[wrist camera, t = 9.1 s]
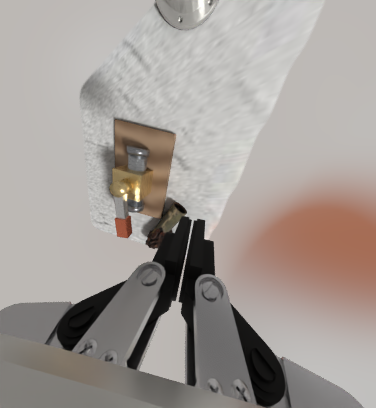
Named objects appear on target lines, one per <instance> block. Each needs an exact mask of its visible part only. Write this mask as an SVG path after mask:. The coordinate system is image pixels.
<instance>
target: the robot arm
mask: <svg viewBox="0 0 376 408" xmlns="http://www.w3.org/2000/svg"><path fill="white" fill-rule="evenodd" d="M218 1H219V0H156V3H157V6H158V8H159V10H160V12H161V14H162V16H163V17H164V18H165V20H166V21H167V22H168V23H169V24H170V25H172V26H174V27H175V28H178V29H181V30H189V29H193V28H196V27H197V26H199V25H201V24H202V23H203V22H204V21H205V20H207V18H208V17H209V16H210V15H211V13H212V12H213V10H214V9H215V7H216V5H217V3H218ZM209 5H211V6H209ZM180 22H181V23H180ZM191 222H192V220H190V219H189V217H185V216H181V219H180V221H179V224H178V227H177V229H176V232H175V233H171V232H166V234H165V236H164V238H163V240H162V242H161V244H160V246H159V248H158V250H157V252H156V255H155V257H154V259H153V261H152V262H146V263H143V264H141V265H140V266H139V267H138V268H137V269H136V270H135V271H134V272H133V273H132V275H131V276H130V277H129V279H128V280H126V281H124V282H122V283H119V284H117V285H115V286H113V287H111V288H109V289H106V290H104V291H102V292H100V293H98V294H95V295H93V296H91V297H89V298H87V299H85V300H82V301H81V302H79V303H77V304H71V302H50V303H49V302H48V303H47V302H44V303H19V304H14V305H11V306H9V307H6V308H4V309H2V310H1V311H0V408H363V407H362V405H361V404H360V403H359V402H358V401H357V400H356V399H355V398H354V397H353V396H352V395H351V394H349V393H348V392H346V391H345V390H343V389H342V388H340V387H338V386H337V385H335V384H333V383H331V382H329V381H327V380H326V379H324V378H322V377H320V376H318V375H316V374H314V373H313V372H311V371H309V370H307V369H305V368H303V367H301V366H299V365H297V364H296V363H294V362H292V361H290V360H288V359H286V358H285V357H282V358H279V357H277V356H275V354H274V353H273V352H272V350H271V349H270V348H269V347H268V346H267V344H266V343H265V342H264V341H263V340H262V339H261V338H260V336H259V335H258V334H257V333H256V332H255V331H254V330H253V328H252V327H251V326H250V325H249V324H248V323H247V322H246V320H245V319H244V318H243V317H242V316H241V315H240V314H239V312H238V311H237V310H236V309H235V308H234V307H233V305H232V304H231V303H230V300H229V296H228V293H227V290H226V287H225V285H224V283H223V282H222V281H221V280H220V279H219V278H218V277H216V276H215V266H214V242H213V241H210V240H205V239H204V231H205V220H201V219H197V221H195V220H194V224H193V229H192V234H191V239H190V244H189V249H188V254H187V259H186V264H185V270H184V275H183V280H182V286H181V291H180V297H179V302H181V303H182V308H181V314H182V316H183V317H184V319H185V321H186V337H185V340H186V341H185V384H183V383H179V382H176V381H172V380H169V379H165V378H162V377H159V376H155V375H152V374H148V373H145V372H141V371H139V369H140V366H141V364H142V361H143V359H144V357H145V354H146V352H147V350H148V347H149V345H150V342H151V340H152V338H153V335H154V333H155V330H156V328H157V325H158V323H159V321H160V318H161V315H162V314H164V313H165V312H167V311H168V310H169V307H171V302H172V300H173V301H176V297H177V292H178V288H179V283H180V278H181V274H182V269H183V264H184V260H185V255H186V250H187V245H188V239H189V233H190V227H191Z"/></svg>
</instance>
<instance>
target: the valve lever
mask: <svg viewBox="0 0 376 408" xmlns="http://www.w3.org/2000/svg"><path fill="white" fill-rule="evenodd" d="M109 189H110V192H111V194H112V195H113V196H114V202H115V209H116V216H117V217H116V218H115V224H116V231H117V236H118V237H123V238H128V237H129V236H130V235H131V234H132V226H131V216H129V214H128V203H127V193H129V192H130V191H131V190H132V185H131V183H130V182H129V181H128V180H126V179H122V180H120V181H117V182H115V183H112V184H111V185H110V188H109Z"/></svg>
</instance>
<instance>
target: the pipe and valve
mask: <svg viewBox="0 0 376 408" xmlns="http://www.w3.org/2000/svg"><path fill="white" fill-rule="evenodd" d="M127 153H128V165H124V166H120V167H116V168H112V175H113V183H115V182H117V181H120V180H122V179H126V180H128V181H129V182H130V183H131V185H132V190H131V191H130V192H129V193H127V203H128V211H129V212H141V211H143V210H144V205H145V204H144V202H143V200H144V198H145V197H146V196H147V195H148V194H150V193H151V187H152V178H153V170H149V169H147V158H148V157H149V155H150V150H149V149H145V148H142V147H138V146H131V145H127Z"/></svg>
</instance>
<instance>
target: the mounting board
mask: <svg viewBox="0 0 376 408" xmlns="http://www.w3.org/2000/svg"><path fill="white" fill-rule="evenodd" d="M175 139H176V134H172V133H168V132H164V131H160V130H156V129H152V128H148V127H144V126H140V125H136V124H132V123H128V122H124V121H120V120H116V119H115V168H116V167H120V166H124V165H128V153H127V145H131V146H138V147H142V148H145V149H149V150H150V155H149V157H148V158H147V169H149V170H153V178H152V187H151V193H150V194H148V195H147V196H146V197H145V198H144V200H143V202H144V204H145V205H144V210H143V211H141V212H137V213H141V214H145V215H148V216H152V217H155V218H159V219H161V218H162V215H163V209H164V203H165V198H166V192H167V186H168V180H169V174H170V168H171V162H172V156H173V150H174V144H175Z"/></svg>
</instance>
